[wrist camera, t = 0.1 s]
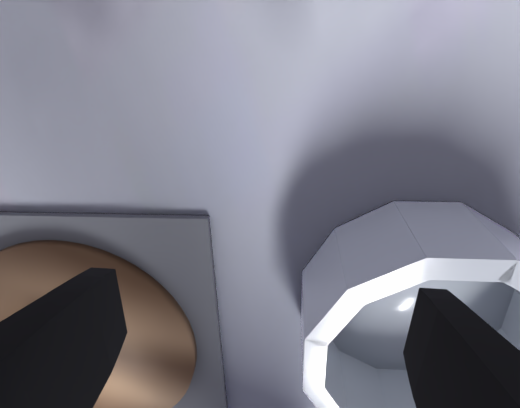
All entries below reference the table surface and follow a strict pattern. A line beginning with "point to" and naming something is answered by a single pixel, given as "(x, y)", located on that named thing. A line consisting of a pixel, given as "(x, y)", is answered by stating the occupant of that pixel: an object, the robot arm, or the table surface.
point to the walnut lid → (135, 312)
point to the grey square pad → (150, 272)
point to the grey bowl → (397, 295)
